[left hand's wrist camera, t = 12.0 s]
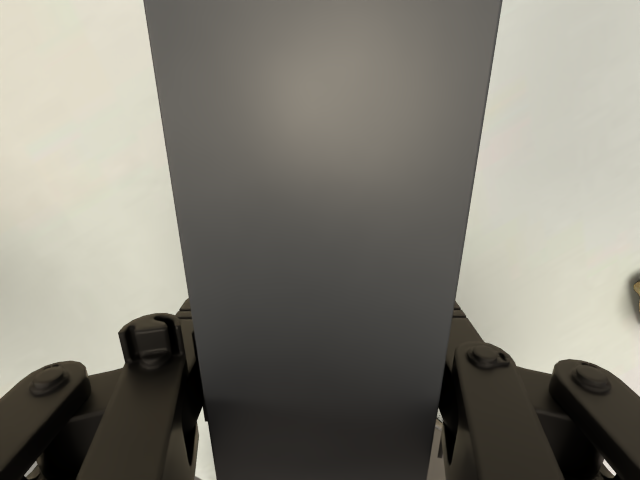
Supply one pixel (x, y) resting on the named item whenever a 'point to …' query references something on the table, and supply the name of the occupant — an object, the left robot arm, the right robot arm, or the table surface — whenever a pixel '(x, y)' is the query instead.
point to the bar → (322, 219)
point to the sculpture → (637, 290)
